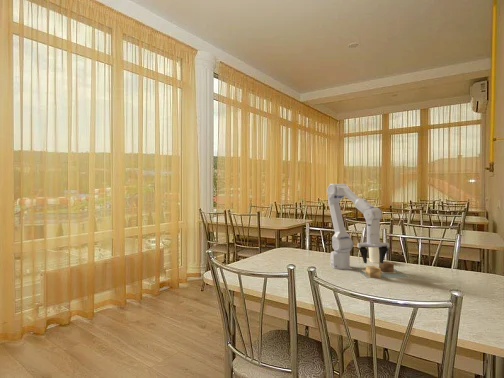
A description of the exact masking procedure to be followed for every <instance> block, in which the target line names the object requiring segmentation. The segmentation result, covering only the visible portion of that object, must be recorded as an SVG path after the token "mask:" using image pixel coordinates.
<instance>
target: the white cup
mask: <svg viewBox="0 0 504 378" xmlns="http://www.w3.org/2000/svg"><path fill="white" fill-rule="evenodd" d="M368 258H369V259H368V260H369V262H370V263H372V264H379V262H380V261H379V248H378V247H368Z"/></svg>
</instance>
